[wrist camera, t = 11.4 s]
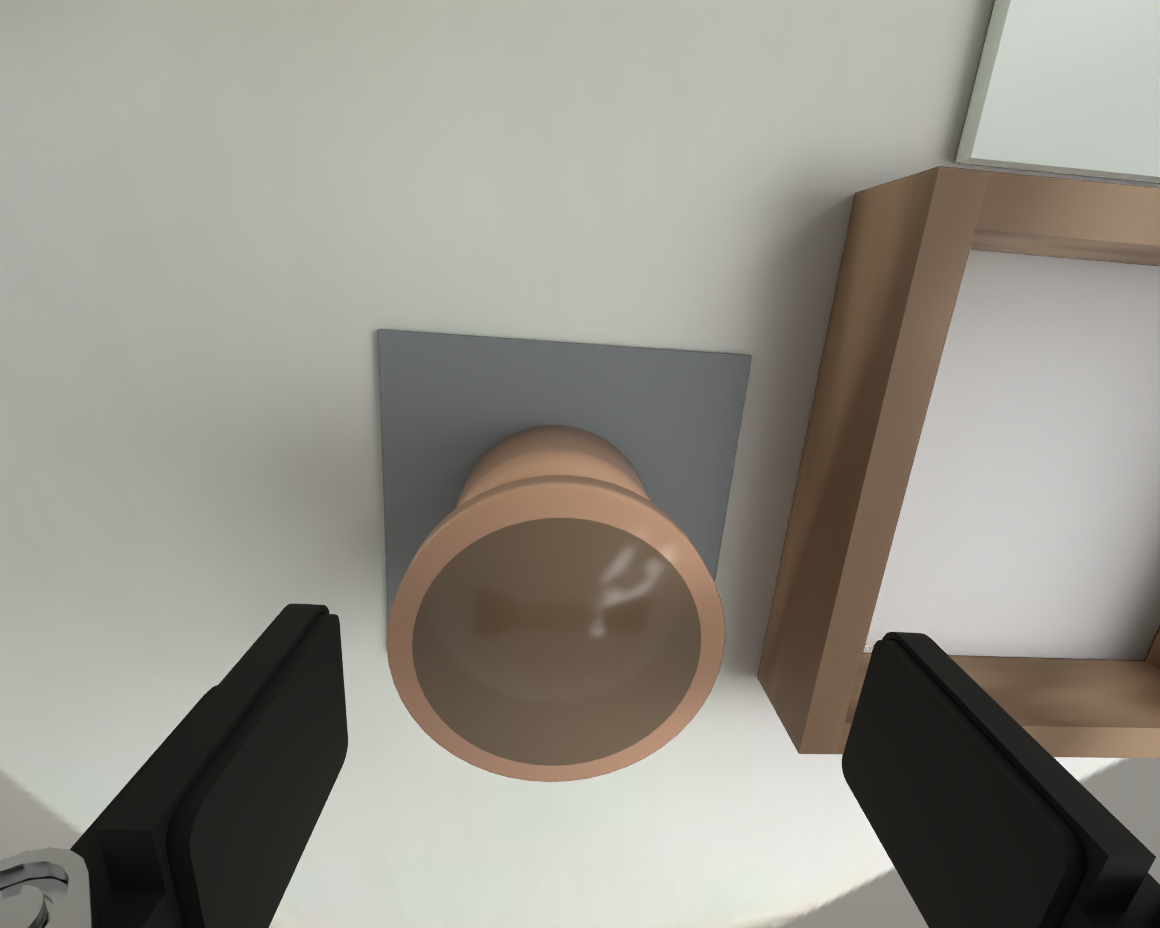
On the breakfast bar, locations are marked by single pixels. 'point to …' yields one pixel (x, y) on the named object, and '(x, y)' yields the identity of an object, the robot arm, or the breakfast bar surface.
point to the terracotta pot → (555, 615)
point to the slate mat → (553, 423)
